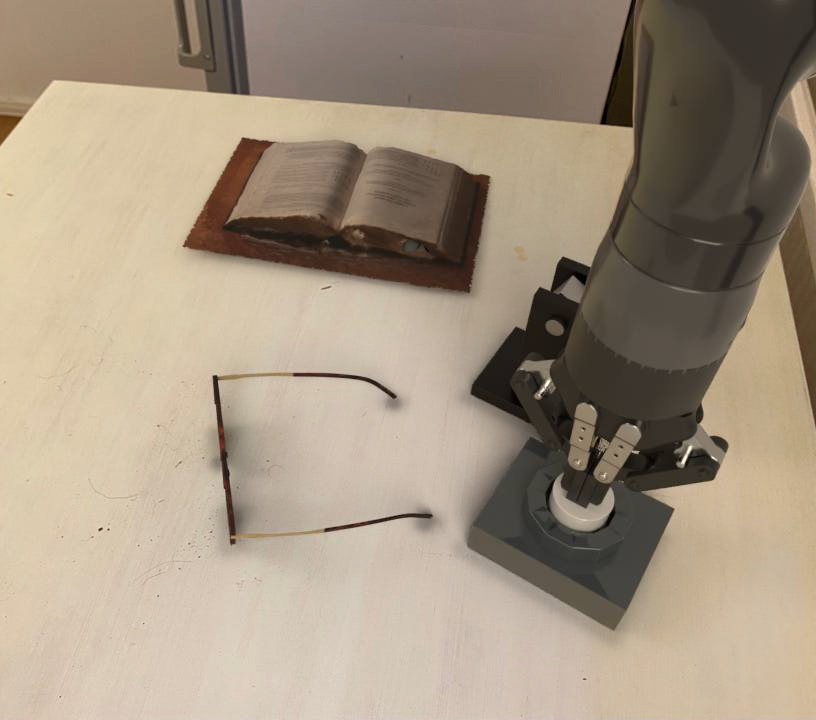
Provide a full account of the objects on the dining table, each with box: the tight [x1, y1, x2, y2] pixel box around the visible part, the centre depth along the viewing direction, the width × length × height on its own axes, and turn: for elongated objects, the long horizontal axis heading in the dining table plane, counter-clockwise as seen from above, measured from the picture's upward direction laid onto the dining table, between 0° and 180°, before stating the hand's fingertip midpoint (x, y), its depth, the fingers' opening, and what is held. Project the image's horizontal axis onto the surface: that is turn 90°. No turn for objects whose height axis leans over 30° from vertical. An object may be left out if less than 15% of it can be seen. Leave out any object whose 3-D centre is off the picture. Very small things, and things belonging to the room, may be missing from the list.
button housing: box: [467, 436, 675, 632], centre depth 56 cm, size 11×9×5 cm
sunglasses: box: [212, 372, 434, 547], centre depth 61 cm, size 14×15×5 cm
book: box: [181, 136, 492, 294], centre depth 82 cm, size 20×28×4 cm
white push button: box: [548, 473, 614, 533], centre depth 54 cm, size 4×4×2 cm
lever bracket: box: [470, 255, 591, 426], centre depth 63 cm, size 10×8×12 cm
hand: (581, 494), depth 54 cm, fingers closed
